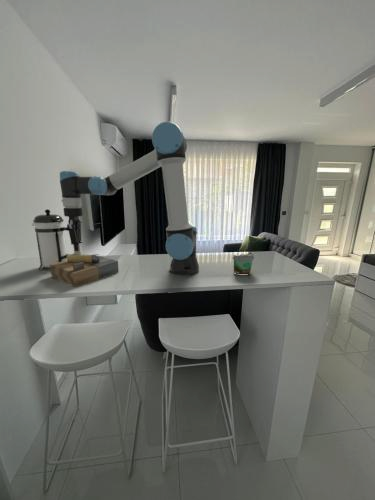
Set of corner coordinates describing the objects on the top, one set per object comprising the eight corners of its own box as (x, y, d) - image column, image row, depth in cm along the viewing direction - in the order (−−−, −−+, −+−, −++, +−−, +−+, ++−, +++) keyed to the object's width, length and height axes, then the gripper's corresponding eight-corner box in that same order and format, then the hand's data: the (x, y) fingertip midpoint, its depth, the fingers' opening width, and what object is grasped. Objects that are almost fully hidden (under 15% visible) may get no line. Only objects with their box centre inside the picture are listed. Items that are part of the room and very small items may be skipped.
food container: (240, 278, 101) (242, 258, 98) (231, 274, 106) (232, 255, 103) (257, 273, 107) (259, 254, 105) (248, 270, 112) (249, 252, 110)
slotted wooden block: (118, 272, 105) (117, 255, 103) (75, 286, 87) (72, 267, 85) (94, 265, 116) (93, 249, 114) (51, 276, 98) (49, 258, 96)
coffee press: (45, 274, 101) (36, 210, 94) (33, 267, 110) (24, 209, 103) (81, 265, 114) (75, 209, 107) (68, 260, 124) (61, 208, 117)
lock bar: (101, 260, 102) (100, 254, 101) (98, 262, 99) (97, 256, 98) (70, 260, 102) (70, 253, 102) (66, 262, 99) (65, 255, 98)
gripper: (68, 206, 102) (73, 253, 108) (58, 208, 90) (64, 261, 95) (85, 206, 103) (89, 253, 109) (77, 208, 91) (82, 260, 97)
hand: (78, 257), depth 102 cm, fingers closed
